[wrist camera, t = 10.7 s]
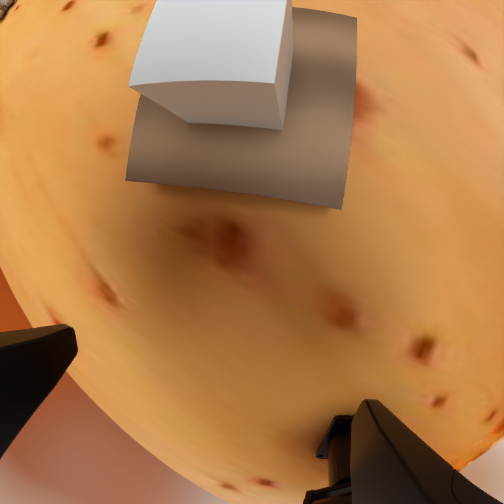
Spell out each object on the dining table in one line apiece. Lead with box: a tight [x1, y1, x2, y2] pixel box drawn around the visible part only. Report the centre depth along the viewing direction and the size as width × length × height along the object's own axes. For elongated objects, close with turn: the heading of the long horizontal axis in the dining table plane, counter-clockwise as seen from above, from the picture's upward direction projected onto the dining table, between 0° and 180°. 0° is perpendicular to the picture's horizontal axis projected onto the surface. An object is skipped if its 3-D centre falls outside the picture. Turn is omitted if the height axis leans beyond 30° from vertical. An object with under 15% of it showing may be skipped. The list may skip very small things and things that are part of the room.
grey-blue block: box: [128, 0, 293, 130], centre depth 9 cm, size 5×5×6 cm
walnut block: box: [125, 7, 357, 210], centre depth 14 cm, size 12×12×4 cm
